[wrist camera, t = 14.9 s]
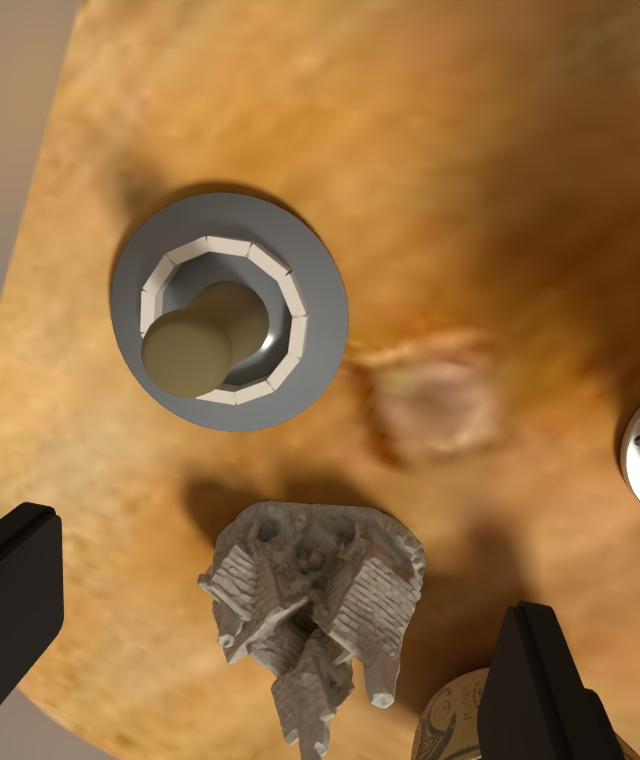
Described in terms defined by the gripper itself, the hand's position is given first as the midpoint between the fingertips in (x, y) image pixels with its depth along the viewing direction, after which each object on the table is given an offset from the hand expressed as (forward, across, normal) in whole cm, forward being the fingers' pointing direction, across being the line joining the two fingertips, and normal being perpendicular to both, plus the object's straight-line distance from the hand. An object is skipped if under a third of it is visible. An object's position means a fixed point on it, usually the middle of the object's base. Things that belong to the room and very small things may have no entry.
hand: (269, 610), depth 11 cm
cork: (+29, +10, +1) cm, 31 cm away
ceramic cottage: (+31, +1, +21) cm, 38 cm away
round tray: (+30, +10, +1) cm, 32 cm away
